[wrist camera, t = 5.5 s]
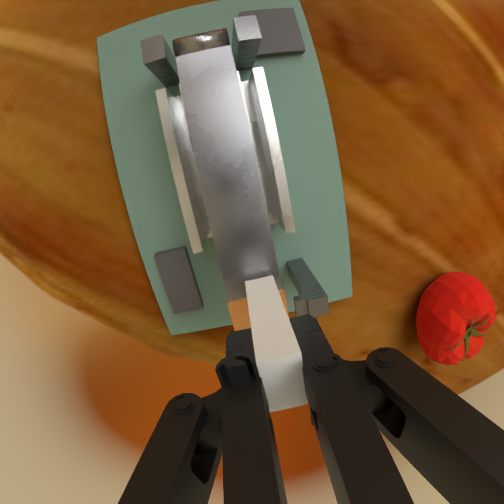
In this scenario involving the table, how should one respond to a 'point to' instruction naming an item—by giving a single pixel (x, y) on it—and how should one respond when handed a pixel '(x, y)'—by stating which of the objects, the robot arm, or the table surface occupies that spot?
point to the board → (291, 143)
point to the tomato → (454, 317)
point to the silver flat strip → (226, 166)
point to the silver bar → (264, 143)
